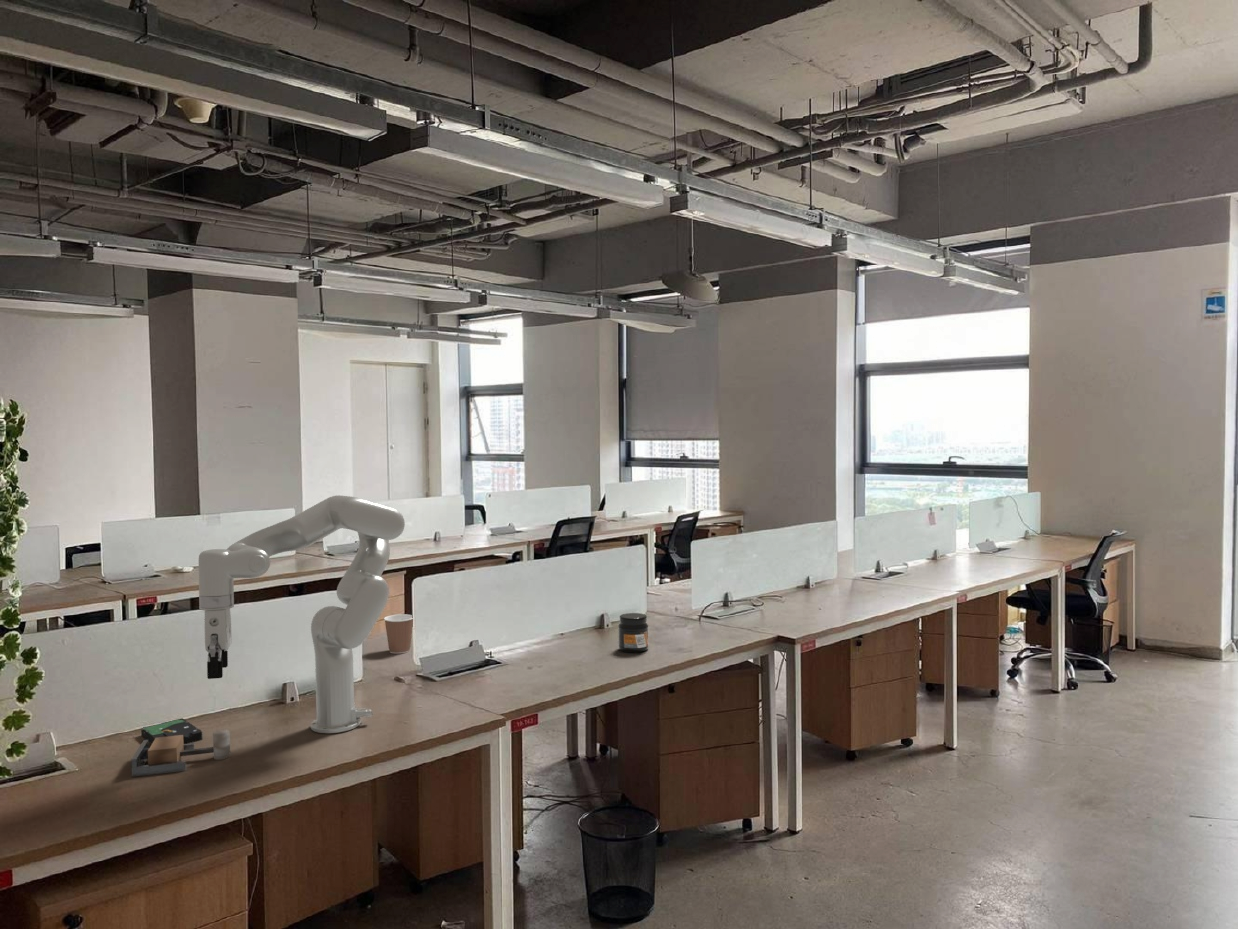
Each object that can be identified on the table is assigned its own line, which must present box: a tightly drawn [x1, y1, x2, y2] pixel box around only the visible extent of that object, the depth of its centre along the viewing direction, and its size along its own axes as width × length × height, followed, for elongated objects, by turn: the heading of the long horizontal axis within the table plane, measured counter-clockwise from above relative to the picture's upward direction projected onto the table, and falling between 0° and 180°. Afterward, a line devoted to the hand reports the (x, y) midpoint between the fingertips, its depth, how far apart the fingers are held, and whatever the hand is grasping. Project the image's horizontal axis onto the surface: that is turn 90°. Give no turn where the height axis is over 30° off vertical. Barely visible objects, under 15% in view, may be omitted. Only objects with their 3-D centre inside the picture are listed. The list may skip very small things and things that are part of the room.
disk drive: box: [140, 718, 203, 745], centre depth 225 cm, size 10×3×15 cm
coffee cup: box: [383, 613, 414, 655], centre depth 309 cm, size 10×10×12 cm
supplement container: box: [617, 612, 649, 654], centre depth 308 cm, size 10×10×12 cm
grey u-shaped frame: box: [131, 739, 195, 778], centre depth 208 cm, size 11×13×4 cm
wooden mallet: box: [147, 729, 231, 765], centre depth 209 cm, size 17×9×6 cm, turn 108°
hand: (217, 672), depth 210 cm, fingers open, 9 cm apart
